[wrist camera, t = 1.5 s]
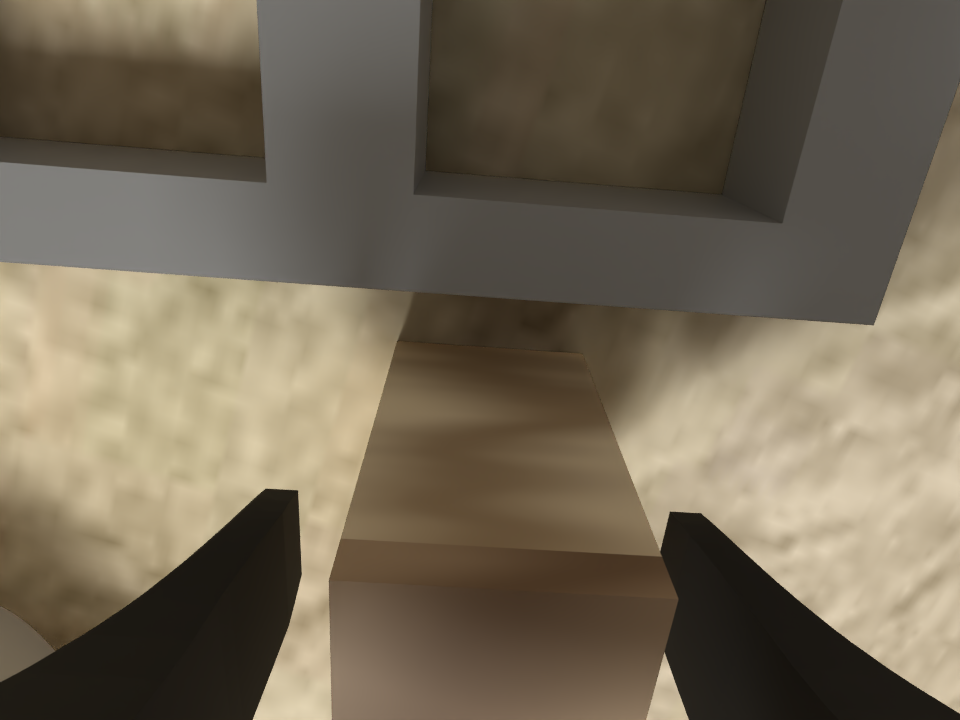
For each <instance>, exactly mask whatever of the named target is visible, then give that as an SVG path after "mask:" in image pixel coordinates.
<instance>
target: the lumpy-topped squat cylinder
mask: <svg viewBox="0 0 960 720" xmlns="http://www.w3.org/2000/svg"><path fill="white" fill-rule="evenodd" d="M53 652H55V650H54V649H53V648H52V647H51V646H50V645H49V644H48V643H47V642H46V641H45V640H44V639H43V638H42V636H41V635H39V634H38V633H37V632H36V631H35V630H34V629H33V628H32V627H31V626H30V625H29V624H27V623H26V622H25V621H24V620H22V619H21V618H19V617H18V616H17V615H15V614H14V613H12V612H10V611H9V610H7V609H5V608H3V607H1V606H0V682H2V681H3V680H5V679H7V678H9V677H11V676H13V675H15V674H17V673H19V672H20V671H22V670H24V669H26V668H28V667H29V666H31V665H33V664H34V663H36V662H38V661H40V660H41V659H43V658H45V657H46V656H48V655H50V654H51V653H53Z"/></svg>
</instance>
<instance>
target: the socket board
mask: <svg viewBox="0 0 960 720" xmlns="http://www.w3.org/2000/svg"><path fill="white" fill-rule="evenodd" d="M432 6H433V0H257V15H258V33H259V51H260V69H261V87H262V105H263V124H264V142H265V158H259V157H246V156H234V155H221V154H209V153H196V152H184V151H172V150H159V149H147V148H134V147H122V146H109V145H97V144H84V143H72V142H59V141H47V140H34V139H22V138H10V137H0V262H9V263H23V264H37V265H51V266H64V267H78V268H92V269H106V270H120V271H133V272H147V273H161V274H175V275H188V276H202V277H216V278H230V279H244V280H257V281H271V282H285V283H299V284H312V285H326V286H340V287H354V288H368V289H381V290H395V291H409V292H423V293H436V294H450V295H464V296H478V297H492V298H505V299H519V300H533V301H547V302H560V303H574V304H588V305H602V306H616V307H629V308H643V309H657V310H671V311H684V312H698V313H712V314H726V315H740V316H753V317H767V318H781V319H795V320H808V321H822V322H836V323H850V324H864V325H874V323H875V320H876V317H877V315H878V312H879V309H880V306H881V303H882V300H883V298H884V295H885V292H886V289H887V286H888V283H889V280H890V278H891V275H892V272H893V269H894V266H895V263H896V261H897V258H898V255H899V252H900V249H901V246H902V244H903V241H904V238H905V235H906V232H907V229H908V227H909V224H910V221H911V218H912V215H913V212H914V209H915V207H916V204H917V201H918V198H919V195H920V192H921V190H922V187H923V184H924V181H925V178H926V175H927V173H928V170H929V167H930V164H931V161H932V158H933V156H934V153H935V150H936V147H937V144H938V141H939V138H940V136H941V133H942V130H943V127H944V124H945V121H946V119H947V116H948V113H949V110H950V107H951V104H952V102H953V99H954V96H955V93H956V90H957V87H958V85H959V82H960V0H766V4H765V9H764V13H763V17H762V22H761V26H760V30H759V35H758V39H757V44H756V48H755V52H754V57H753V61H752V65H751V70H750V74H749V79H748V83H747V87H746V92H745V96H744V100H743V105H742V109H741V113H740V118H739V122H738V127H737V131H736V135H735V140H734V144H733V148H732V153H731V157H730V162H729V166H728V170H727V175H726V179H725V183H724V188H723V192H722V195H720V194H707V193H695V192H682V191H670V190H657V189H645V188H632V187H620V186H608V185H595V184H583V183H570V182H558V181H545V180H533V179H520V178H508V177H495V176H483V175H470V174H458V173H446V172H433V171H425V169H426V146H427V122H428V99H429V76H430V53H431V29H432Z"/></svg>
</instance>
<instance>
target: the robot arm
mask: <svg viewBox="0 0 960 720" xmlns="http://www.w3.org/2000/svg"><path fill="white" fill-rule="evenodd" d="M660 553H661V556H662V558H663V561H664V563H665V566H666V568H667V571H668V573H669V576H670V579H671V581H672V584H673V586H674V589H675V591H676V594H677V596H678V603H677V607H676V611H675V614H674V618H673V622H672V625H671V629H670V633H669V637H668V640H667V644H666V648H665V654H666V657H667V660H668V663H669V666H670V668H671V671H672V674H673V677H674V680H675V683H676V685H677V688H678V691H679V694H680V696H681V699H682V702H683V705H684V707H685V710H686V713H687V716H688V718H689V720H960V714H959V713H958V712H956V711H954V710H953V709H951V708H949V707H948V706H946V705H945V704H943V703H941V702H940V701H938V700H937V699H935V698H933V697H932V696H930V695H928V694H927V693H925V692H924V691H922V690H920V689H919V688H917V687H916V686H914V685H912V684H911V683H909V682H908V681H906V680H905V679H903V678H902V677H900V676H899V675H897V674H896V673H894V672H893V671H891V670H890V669H888V668H887V667H885V666H884V665H883V664H881V663H880V662H878V661H877V660H875V659H874V658H873V657H871V656H870V655H868V654H867V653H866V652H864V651H863V650H861V649H860V648H859V647H857V646H856V645H854V644H853V643H851V642H850V641H849V640H848V639H846V638H845V637H844V636H842V635H841V634H840V633H838V632H837V631H836V630H834V629H833V628H832V627H830V626H829V625H828V624H827V623H826V622H824V621H823V620H822V619H821V618H819V617H818V616H817V615H816V614H814V613H813V612H812V611H811V610H809V609H808V608H807V607H806V606H804V605H803V604H802V603H801V602H800V601H798V600H797V599H796V598H795V597H794V596H793V595H791V594H790V593H789V592H788V591H787V590H786V589H784V588H783V587H782V586H781V585H780V584H779V583H777V582H776V581H775V580H774V579H773V578H772V577H771V576H770V575H768V574H767V573H766V572H765V571H764V570H763V569H762V568H761V567H760V566H758V565H757V564H756V563H755V562H754V561H753V560H752V559H751V558H750V557H749V556H748V555H746V554H745V553H744V552H743V551H742V550H741V549H740V548H739V547H738V546H737V545H736V544H735V543H733V542H732V541H731V540H730V539H729V538H728V537H727V536H726V535H725V534H724V533H723V532H721V531H720V530H719V529H718V528H717V527H716V526H715V525H714V524H713V523H711V522H710V521H709V520H708V519H707V518H706V517H704V516H703V515H702V514H701V513H684V512H670V514H669V518H668V522H667V526H666V530H665V535H664V539H663V543H662V547H661V551H660ZM301 575H302V572H301V549H300V526H299V503H298V491H297V490H279V489H265V490H264V491H262V492H261V493H260V494H259V495H258V496H257V497H256V498H254V499H253V500H252V501H251V502H250V503H249V504H248V505H247V506H246V507H245V508H244V509H243V510H241V511H240V512H239V513H238V514H237V515H236V516H235V517H234V518H233V519H232V520H231V521H230V522H229V523H227V524H226V525H225V526H224V527H223V528H222V529H221V530H220V531H219V532H218V533H216V534H215V535H214V536H213V537H212V538H211V539H210V540H208V541H207V542H206V543H205V544H204V545H203V546H202V547H200V548H199V549H198V550H197V551H196V552H195V553H194V554H192V555H191V556H190V557H189V558H188V559H187V560H185V561H184V562H183V563H182V564H181V565H179V566H178V567H177V568H176V569H174V570H173V571H172V572H171V573H169V574H168V575H167V576H166V577H164V578H163V579H162V580H160V581H159V582H158V583H157V584H155V585H154V586H153V587H152V588H150V589H149V590H148V591H147V592H145V593H144V594H143V595H141V596H140V597H139V598H137V599H136V600H134V601H133V602H132V603H130V604H129V605H127V606H126V607H125V608H123V609H122V610H120V611H119V612H117V613H116V614H114V615H113V616H111V617H110V618H108V619H107V620H105V621H104V622H102V623H101V624H99V625H98V626H96V627H95V628H93V629H92V630H90V631H88V632H87V633H85V634H84V635H82V636H80V637H79V638H77V639H75V640H74V641H72V642H70V643H68V644H67V645H65V646H63V647H62V648H60V649H58V650H57V651H55V652H53V653H51V654H50V655H48V656H46V657H45V658H43V659H41V660H40V661H38V662H36V663H34V664H33V665H31V666H29V667H28V668H26V669H24V670H22V671H20V672H19V673H17V674H15V675H13V676H11V677H9V678H7V679H5V680H3V681H2V682H0V720H253V717H254V715H255V712H256V710H257V707H258V704H259V702H260V699H261V697H262V694H263V691H264V689H265V686H266V684H267V681H268V679H269V676H270V673H271V671H272V668H273V666H274V663H275V660H276V658H277V655H278V652H279V650H280V647H281V645H282V642H283V639H284V637H285V634H286V631H287V629H288V626H289V623H290V619H291V615H292V611H293V607H294V604H295V600H296V596H297V591H298V587H299V583H300V579H301Z"/></svg>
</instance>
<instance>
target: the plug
mask: <svg viewBox="0 0 960 720" xmlns="http://www.w3.org/2000/svg"><path fill="white" fill-rule="evenodd" d="M677 603H678V596H677V594H676V591H675V589H674V586H673V584H672V581H671V579H670V576H669V573H668V571H667V568H666V566H665V563H664V561H663V558H662V556H661V553H660V550H659V548H658V545H657V543H656V540H655V538H654V535H653V533H652V530H651V528H650V525H649V522H648V520H647V517H646V515H645V512H644V510H643V507H642V505H641V502H640V500H639V497H638V494H637V492H636V489H635V487H634V484H633V482H632V479H631V477H630V474H629V471H628V469H627V466H626V464H625V461H624V459H623V456H622V454H621V451H620V449H619V446H618V443H617V441H616V438H615V436H614V433H613V431H612V428H611V426H610V423H609V421H608V418H607V415H606V413H605V410H604V408H603V405H602V403H601V400H600V398H599V395H598V392H597V390H596V387H595V385H594V382H593V380H592V377H591V375H590V372H589V370H588V367H587V364H586V362H585V359H584V357H583V354H580V353H566V352H552V351H537V350H523V349H508V348H494V347H480V346H465V345H451V344H436V343H422V342H407V341H397V344H396V347H395V351H394V354H393V358H392V361H391V365H390V368H389V372H388V375H387V379H386V382H385V386H384V389H383V393H382V396H381V400H380V403H379V407H378V410H377V414H376V417H375V421H374V424H373V428H372V431H371V435H370V438H369V442H368V445H367V449H366V452H365V456H364V459H363V463H362V466H361V470H360V473H359V477H358V480H357V484H356V487H355V491H354V494H353V498H352V501H351V505H350V508H349V512H348V515H347V519H346V522H345V526H344V529H343V533H342V536H341V540H340V543H339V547H338V550H337V554H336V557H335V561H334V564H333V568H332V571H331V575H330V578H329V607H330V652H331V698H332V720H646V718H647V714H648V711H649V707H650V703H651V700H652V696H653V692H654V688H655V685H656V681H657V677H658V674H659V670H660V666H661V662H662V659H663V655H664V651H665V648H666V644H667V640H668V637H669V633H670V629H671V625H672V622H673V618H674V614H675V611H676V607H677Z"/></svg>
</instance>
